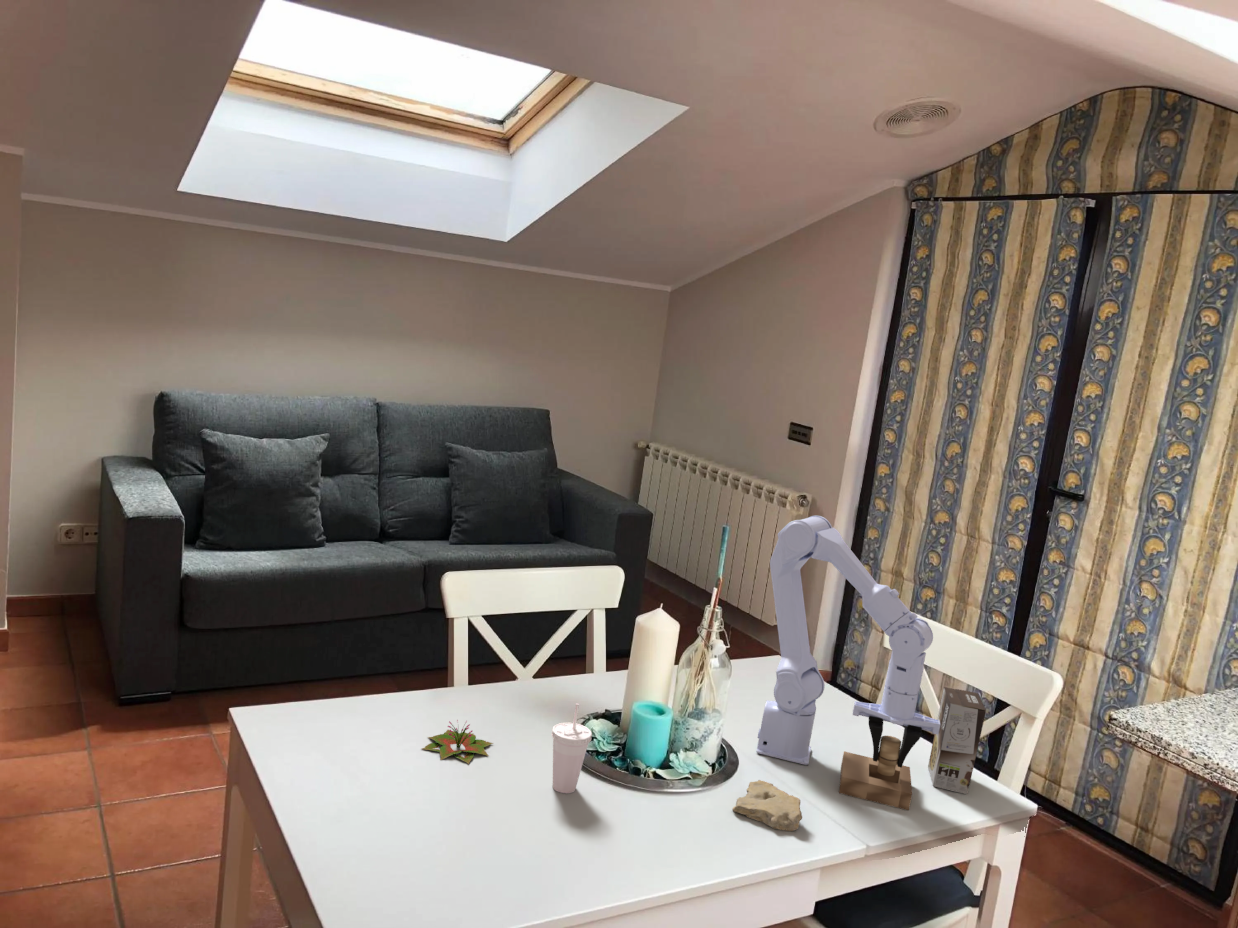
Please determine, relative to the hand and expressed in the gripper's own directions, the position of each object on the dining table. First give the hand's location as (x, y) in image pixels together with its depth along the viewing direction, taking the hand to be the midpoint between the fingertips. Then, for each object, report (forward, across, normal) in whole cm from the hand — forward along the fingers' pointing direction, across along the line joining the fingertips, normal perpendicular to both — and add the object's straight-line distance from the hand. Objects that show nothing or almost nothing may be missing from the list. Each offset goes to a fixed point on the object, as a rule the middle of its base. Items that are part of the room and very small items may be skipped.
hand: (887, 761), depth 171 cm
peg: (+2, 0, 0) cm, 2 cm away
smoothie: (+5, -50, -28) cm, 58 cm away
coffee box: (+6, +12, +11) cm, 17 cm away
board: (+5, -1, 0) cm, 5 cm away
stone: (+6, -19, -20) cm, 28 cm away
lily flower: (+6, -70, -24) cm, 74 cm away
